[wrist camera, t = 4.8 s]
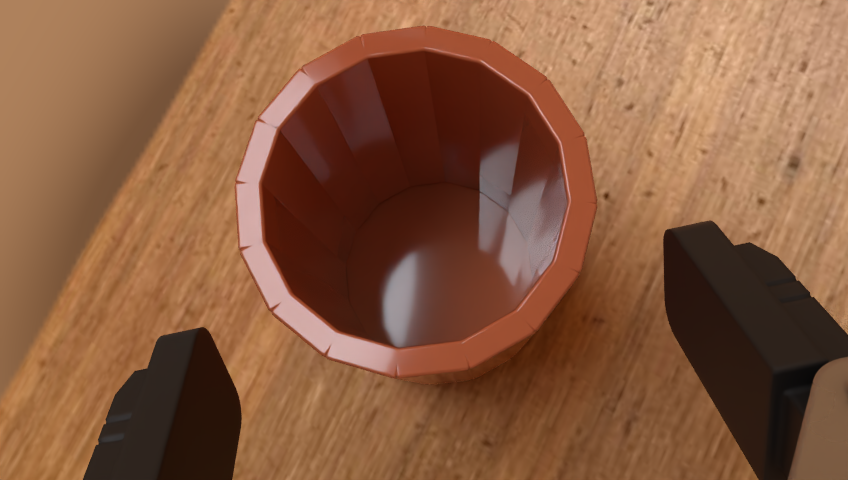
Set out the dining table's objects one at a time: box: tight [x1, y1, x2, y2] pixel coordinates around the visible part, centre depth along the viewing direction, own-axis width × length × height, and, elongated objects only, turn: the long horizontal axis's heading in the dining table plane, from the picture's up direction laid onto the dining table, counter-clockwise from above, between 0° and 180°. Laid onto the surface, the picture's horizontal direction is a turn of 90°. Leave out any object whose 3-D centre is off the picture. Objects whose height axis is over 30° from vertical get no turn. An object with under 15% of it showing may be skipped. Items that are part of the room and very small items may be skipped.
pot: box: [235, 26, 597, 385], centre depth 17 cm, size 6×6×9 cm
